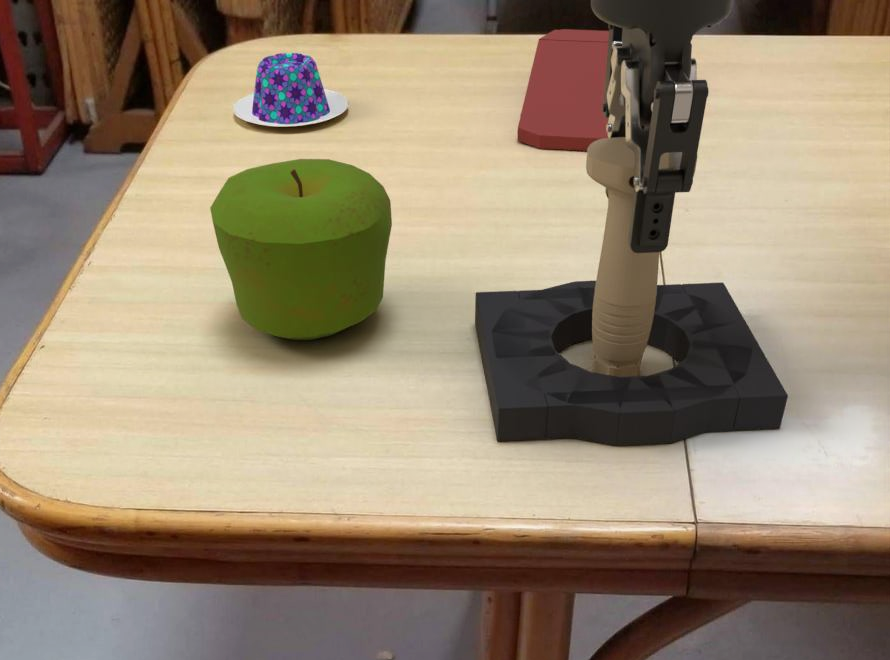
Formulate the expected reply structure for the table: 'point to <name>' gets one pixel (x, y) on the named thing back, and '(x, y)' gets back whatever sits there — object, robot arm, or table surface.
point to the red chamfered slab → (566, 91)
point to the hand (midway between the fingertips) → (634, 223)
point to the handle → (621, 267)
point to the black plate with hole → (623, 398)
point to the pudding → (289, 94)
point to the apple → (304, 245)
